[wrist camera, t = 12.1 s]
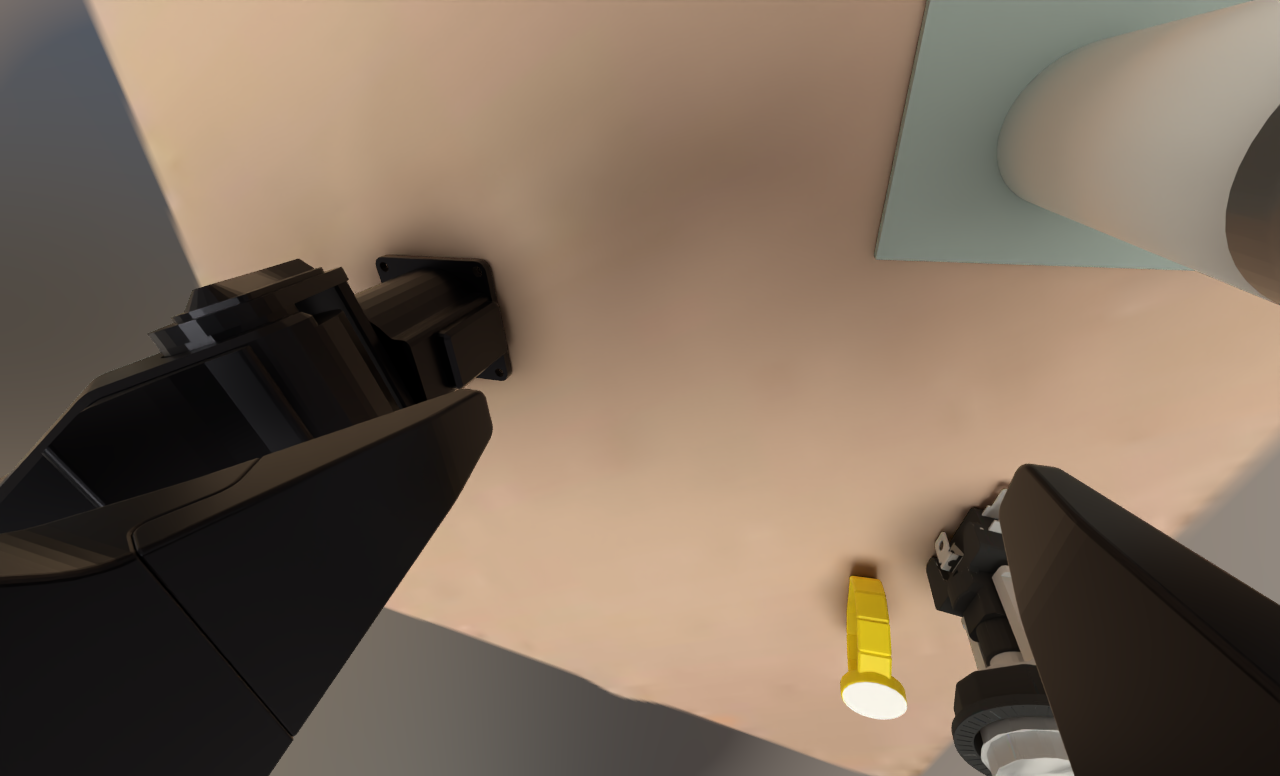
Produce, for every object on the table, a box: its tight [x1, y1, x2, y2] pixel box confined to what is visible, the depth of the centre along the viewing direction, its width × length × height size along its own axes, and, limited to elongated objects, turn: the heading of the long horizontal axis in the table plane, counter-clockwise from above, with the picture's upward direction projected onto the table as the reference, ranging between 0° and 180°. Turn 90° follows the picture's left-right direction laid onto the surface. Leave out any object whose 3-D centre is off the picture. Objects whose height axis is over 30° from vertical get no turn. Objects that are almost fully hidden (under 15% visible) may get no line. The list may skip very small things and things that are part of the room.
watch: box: [840, 576, 907, 719], centre depth 24 cm, size 6×3×6 cm, turn 9°
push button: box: [926, 489, 1074, 776], centre depth 18 cm, size 7×5×10 cm
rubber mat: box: [874, 0, 1253, 271], centre depth 14 cm, size 10×8×1 cm
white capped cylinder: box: [997, 0, 1280, 305], centre depth 9 cm, size 4×4×12 cm
